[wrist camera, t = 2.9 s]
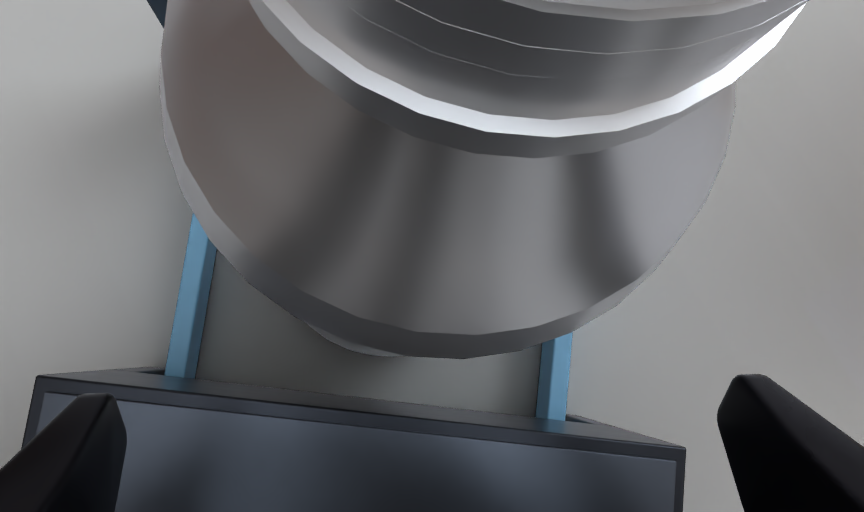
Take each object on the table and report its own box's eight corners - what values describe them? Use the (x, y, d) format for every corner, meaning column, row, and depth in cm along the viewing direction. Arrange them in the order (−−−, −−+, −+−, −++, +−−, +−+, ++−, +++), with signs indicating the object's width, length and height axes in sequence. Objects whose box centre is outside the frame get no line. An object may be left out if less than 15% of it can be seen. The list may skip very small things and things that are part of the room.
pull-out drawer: (569, 541, 22) (648, 613, 16) (123, 498, 20) (27, 559, 14) (614, -11, 25) (695, -126, 19) (228, -79, 23) (183, -224, 17)
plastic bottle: (282, 165, 22) (-264, -1182, 3) (481, 163, 23) (1184, -896, 3) (285, 360, 22) (-493, 468, 2) (491, 351, 22) (1510, 353, 3)
